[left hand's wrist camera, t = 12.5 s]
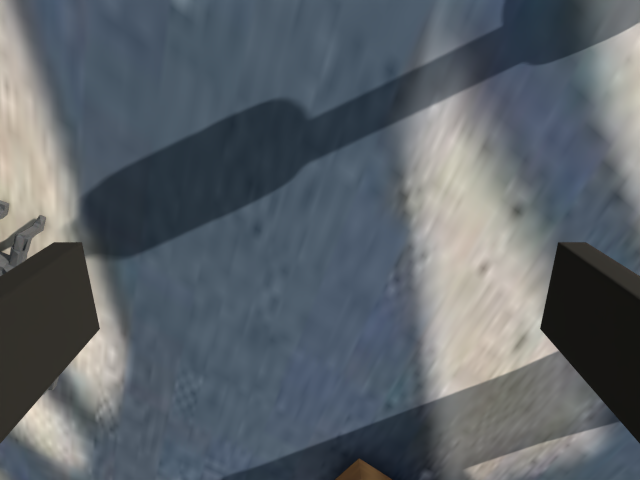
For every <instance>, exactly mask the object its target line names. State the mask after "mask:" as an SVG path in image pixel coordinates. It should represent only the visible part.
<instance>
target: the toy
mask: <svg viewBox="0 0 640 480" xmlns="http://www.w3.org/2000/svg"><path fill="white" fill-rule="evenodd" d="M8 208H9V203H6V202H3V201H0V219H2V218H4V217H5V216H6V215H7V214H8ZM45 220H46V217H44V216H41V215H40V216H39V217H38V218H37V220H36V221H35V223H34V224H33V226H32V227H30V228H28V229H26V230H25V231H23V232H21V233H18V234H16V235H15V239H14V246H12V247H11V252H10V255H8V254H5V253H3V252H0V276H1V275H3V274H5V273H6V272H8V271H9V270H11V269H13V268H14V267H16V266H17V265H19V264H21V263H22V262H24V261H25V260H26V258H27V252H28V250H29V247H30V243H31V239H32V238H33V237H34V236H35V235H36V234H38V233H40V232H41V231H43V229H44V224H45ZM58 377H59V376H58ZM58 377H57V379H56V380H55V381H54V382H53V383H52V384H51V386H50V387H49V388H48V389H47V390H46V391H45V392H44V394H45V393H46V392H47V391H48V390H53V389H54V388H55V387H56V385H57V381H58Z"/></svg>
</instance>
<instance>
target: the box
mask: <svg viewBox="0 0 640 480" xmlns="http://www.w3.org/2000/svg"><path fill="white" fill-rule="evenodd" d="M335 480H392V479H391V478H389V477H387V476H386V475H384V474H383V473H381V472H380V471H378V470H377V469H375V468H373V467H372V466H370V465H369V464H367V463H366V462H364V461H363V460H361V459H358V460H357V461H355V462H354V463H353V464H352V465H351V466H350V467H349V468H348V469H346V470H345V471H344V472H343V473H342V474H341V475H340V476H338V477H337V478H336V479H335Z"/></svg>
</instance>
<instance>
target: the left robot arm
mask: <svg viewBox="0 0 640 480" xmlns="http://www.w3.org/2000/svg"><path fill="white" fill-rule="evenodd" d="M99 329H100V328H99V323H98V318H97V313H96V308H95V304H94V299H93V294H92V289H91V284H90V280H89V275H88V270H87V265H86V260H85V255H84V251H83V246H82V242H54V243H52V244H51V245H49V246H48V247H46V248H44V249H43V250H41V251H40V252H38V253H36V254H35V255H33V256H32V257H30V258H29V259H27V260H25V261H24V262H22V263H21V264H19V265H17V266H16V267H14V268H13V269H11V270H9V271H8V272H6V273H5V274H3V275H1V276H0V443H1V442H2V441H3V440H4V438H5V437H6V436H7V435H8V434H9V433H10V432H11V430H12V429H13V428H14V427H15V426H16V425H17V424H18V422H19V421H20V420H21V419H22V418H23V417H24V415H25V414H26V413H27V412H28V411H29V410H30V409H31V407H32V406H33V405H34V404H35V403H36V402H37V400H38V399H39V398H40V397H41V396H42V395H43V394H44V392H45V391H46V390H47V389H48V388H49V387H50V386H51V384H52V383H53V382H54V381H55V380H56V379H57V377H58V376H59V375H60V374H61V373H62V372H63V371H64V369H65V368H66V367H67V366H68V365H69V364H70V362H71V361H72V360H73V359H74V358H75V357H76V356H77V354H78V353H79V352H80V351H81V350H82V349H83V348H84V346H85V345H86V344H87V343H88V342H89V341H90V339H91V338H92V337H93V336H94V335H95V334H96V333H97V331H98V330H99ZM540 329H541V330H542V331H543V333H544V334H545V335H546V336H547V337H548V338H549V339H550V341H551V342H552V343H553V344H554V345H555V346H556V348H557V349H558V350H559V351H560V352H561V353H562V354H563V356H564V357H565V358H566V359H567V360H568V361H569V362H570V364H571V365H572V366H573V367H574V368H575V369H576V371H577V372H578V373H579V374H580V375H581V376H582V377H583V379H584V380H585V381H586V382H587V383H588V384H589V386H590V387H591V388H592V389H593V390H594V391H595V392H596V394H597V395H598V396H599V397H600V398H601V399H602V400H603V402H604V403H605V404H606V405H607V406H608V407H609V409H610V410H611V411H612V412H613V413H614V414H615V415H616V417H617V418H618V419H619V420H620V421H621V422H622V424H623V425H624V426H625V427H626V428H627V429H628V430H629V432H630V433H631V434H632V435H633V436H634V437H635V438H636V440H637V441H638V442H639V443H640V276H639V275H637V274H635V273H634V272H632V271H631V270H629V269H627V268H626V267H624V266H623V265H621V264H619V263H618V262H616V261H615V260H613V259H611V258H610V257H608V256H607V255H605V254H604V253H602V252H600V251H599V250H597V249H596V248H594V247H592V246H591V245H589V244H588V243H586V242H558V246H557V251H556V255H555V260H554V265H553V270H552V275H551V280H550V284H549V289H548V294H547V299H546V304H545V308H544V313H543V318H542V323H541V328H540Z"/></svg>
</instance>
